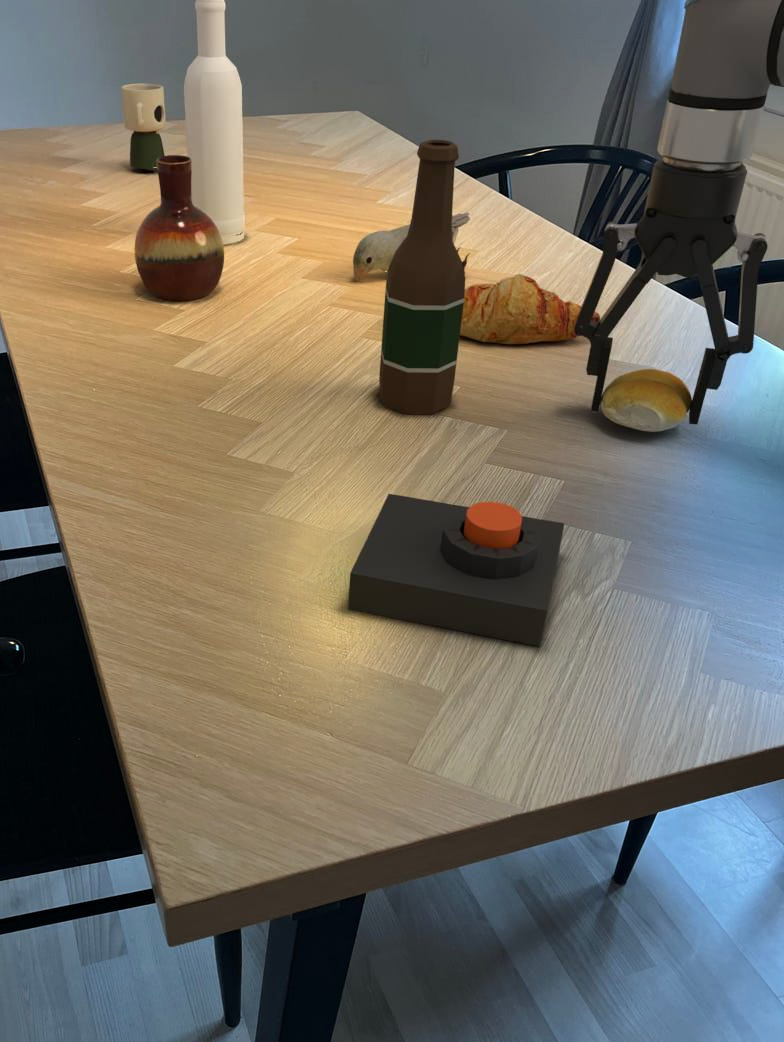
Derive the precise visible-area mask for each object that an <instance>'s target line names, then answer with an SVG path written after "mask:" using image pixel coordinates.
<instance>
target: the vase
mask: <svg viewBox="0 0 784 1042" xmlns="http://www.w3.org/2000/svg"><path fill="white" fill-rule="evenodd" d="M157 169H158V170H157V176H158V180H159V181H158V185H159V191H160V204H159V205H158V206H157V207H155V208H153V209H152V210H151V211H150V212H149V213H148V214H147V215H146V216H145V217H144V218H143V220H142V222H141V223H140V225H139V227H138V229H137V231H136V234H135V239H134V260H135V265H136V268H137V271H138V274H139V277H140V279H141V282H142V283H143V285H144V287H145V288H146V289H147V290H148V292H150V293H151V294H152V295H153V296H155V297H157V298H159V299H162V300H167V301H174V302H175V301H176V302H185V301H186V302H187V301H194V300H199V299H202V298H206V297H207V296H209V295H210V294H211V293H213V291H214V290H215V289H216V288H217V286H218V285H219V282H220V281H221V277H222V274H223V270H224V263H225V247H224V246H225V245H223V241H222V237H221V234H220V232H219V230H218V228H217V226H216V225H215V223H214V222H213V220H212V219H211V218H210V217H209V216H208V215H207V214H206V213H205V212H204V211H202V210H201V209H200V208H198V207H196V206H194V205H193V202H192V193H191V175H192V160H191V158H189V157H187V155H182V154H181V155H179V154H168V155H165V156H162V157H159V158H157Z"/></svg>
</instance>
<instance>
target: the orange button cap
mask: <svg viewBox="0 0 784 1042" xmlns="http://www.w3.org/2000/svg"><path fill="white" fill-rule="evenodd" d="M469 507H470V508H469V509H468V510H467V512H466V519H465V526H464V537H465V539H466V540H468V541H470V542H472V543H474V544H476V545H478V546H482V547H488V548H494V549H500V548H509V547H513V546H514V545H516V544H517V542H518V540H519V535H520V529H521V524H522V516H523V515H522V513H520V511H519V510H518V509H516V508H514V507H513V506H511V505H509V504H506V503H503V502H496V501H481V502H477V503H474V504H472V505H470V506H469Z"/></svg>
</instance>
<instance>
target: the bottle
mask: <svg viewBox="0 0 784 1042" xmlns="http://www.w3.org/2000/svg"><path fill="white" fill-rule="evenodd" d="M226 8H227V7H226V1H225V0H195V2H194V9H195V11H196V12H195V13H196V14H195V15H196V37H197V39H196V40H197V56H196V57H195V58H194V59H193V61H192V62H190V63H191V64H189V66H188V67H187V70H186V73H185V78H184V84H183V99H184V100H183V101H184V118H185V119H184V120H185V121H184V123H185V138H186V139H185V140H186V156H187V157H189V158H191V160H192V175H191V193H192V202H193V205H194V206H196V207H198V208H200V209H201V210H202V211H204V212H205V213H206V214H207V215H208V216H209V217H210V218H211V219H212V220H213V222H214V223H215V225H216V226H217V228H218V230H219V232H220V234H221V237H228V236H234V235H236V234H240V233H241V232H242V231H244V232H243V233H242V234H241V235H238V236H234V237H229V238H222V241H223V246H227V245H232V244H236V243H239V242H241V241H242V240H244V238H245V226H246V216H245V197H244V196H245V194H244V193H245V190H244V189H245V187H244V186H245V185H244V139H243V138H244V137H243V136H244V134H243V133H244V131H243V129H244V128H243V85H242V82H241V78H240V74H239V71H238V68H237V67H236V65H235V64H234V63H233V62H232V61H231V59H229V57H228V56H227V55H226V52H227V51H226V20H225V19H226V17H225V14H226V13H225V11H226Z"/></svg>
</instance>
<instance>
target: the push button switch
mask: <svg viewBox="0 0 784 1042" xmlns="http://www.w3.org/2000/svg"><path fill="white" fill-rule="evenodd" d="M470 507H471V506H464V505H458V504H453V503H447V502H441V501H436V500H429V499H423V498H417V497H411V496H405V495H401V494H400V495H399V494H393V493H388V495H387V496H386V498H385V501H384V503H383V505H382V507H381V509H380V510H379V513H378V515H377V517H376V519H375V521H374V523H373V526H372V527H371V530H370V532H369V534H368V535H367V538H366V540H365V542H364V544H363V546H362V548H361V550H360V552H359V554H358V556H357V558H356V560H355V563H354V565H353V566H352V569H351V571H350V573H349V587H348V600H347V601H348V605H347V608H348V609H349V610H353V611H357V612H362V613H369V614H372V615H379V616H383V617H389V618H393V619H399V620H404V621H407V622H408V621H409V622H413V623H419V624H424V625H428V626H433V627H438V628H442V629H443V628H444V629H448V630H453V631H459V632H463V633H469V634H474V635H479V636H482V637H483V636H484V637H488V638H495V639H499V640H504V641H509V642H514V643H520V644H523V645H524V644H525V645H528V646H529V645H530V646H534V647H541V644H542V640H543V635H544V631H545V625H546V621H547V618H548V617H547V616H548V613H549V607H550V602H551V596H552V590H553V586H554V580H555V577H556V576H555V575H556V570H557V565H558V561H559V554H560V549H561V545H562V544H561V543H562V539H563V534H564V529H565V523H564V522H560V521H553V520H547V519H542V518H535V517H530V516H524V515H521V516H522V524H521V529H520V535H519V540H518V542H517V544H516V545H514V546H513V547H509V548H500V549H494V548H488V547H482V546H478V545H476V544H474V543H472V542H470V541H468V540H466V539H465V537H464V526H465V519H466V512H467V510H468V509H469V508H470Z"/></svg>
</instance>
